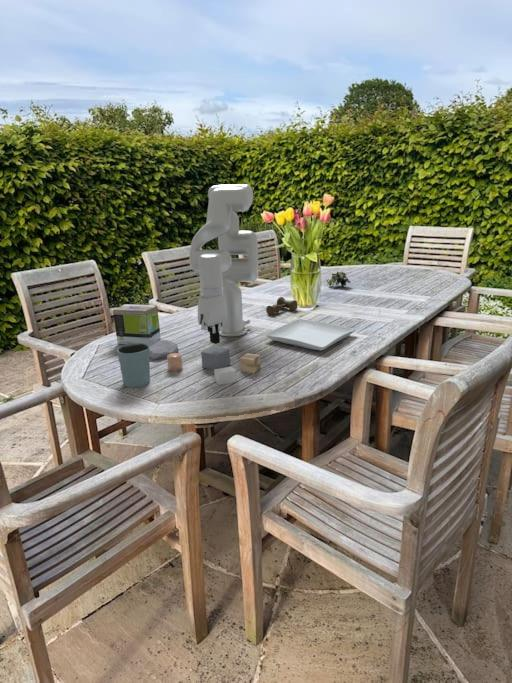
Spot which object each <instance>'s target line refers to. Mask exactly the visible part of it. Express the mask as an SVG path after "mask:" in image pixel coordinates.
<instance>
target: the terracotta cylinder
mask: <svg viewBox="0 0 512 683" xmlns="http://www.w3.org/2000/svg"><path fill="white" fill-rule="evenodd" d="M182 356H183V355H182V353H179V352H177V353H172V354H169V355H167V357H166V361H167V370H168V371H169V372H172V373H173V372H175V373H176V372H180V371H182V370H183V369H184V368H183V357H182Z"/></svg>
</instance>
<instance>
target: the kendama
mask: <svg viewBox="0 0 512 683" xmlns="http://www.w3.org/2000/svg"><path fill="white" fill-rule="evenodd" d="M283 308H287V309H289V311H291V312H295V311H296V310H297V309H298V301H297V300H295V299H294V300H290V301H289V300H286V299H285V298H284V296H280V297H278V298H277V300H276V303H275V304H273V305H267V306H266V308H265V312H266V314H267V315H268V316H270V317H271V316H275V314H278V313H279V312H280V311H281V310H282V309H283Z"/></svg>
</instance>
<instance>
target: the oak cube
mask: <svg viewBox="0 0 512 683" xmlns="http://www.w3.org/2000/svg"><path fill="white" fill-rule="evenodd" d="M239 362H240V363H239V364H240V366H239V367H240V372H244V373H250V374H255V373H257V371H259V370H260V369H261V355H260V354H255V353H248V352H246V353H245V354H244V355H241V357H240V358H239Z"/></svg>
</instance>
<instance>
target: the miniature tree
mask: <svg viewBox="0 0 512 683" xmlns="http://www.w3.org/2000/svg"><path fill="white" fill-rule="evenodd" d="M326 283H327V286H329V287H331V286H332V287H334V284H335V288H334V289H337V287H338V286H339V285H341V286H342V287H344V286H347V283H348V284H351V281H350V280H349V278H348V277H347V275H346V272H344V271H336V273H333V272H331V278H330V279H329V278H327V279H326Z"/></svg>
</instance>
